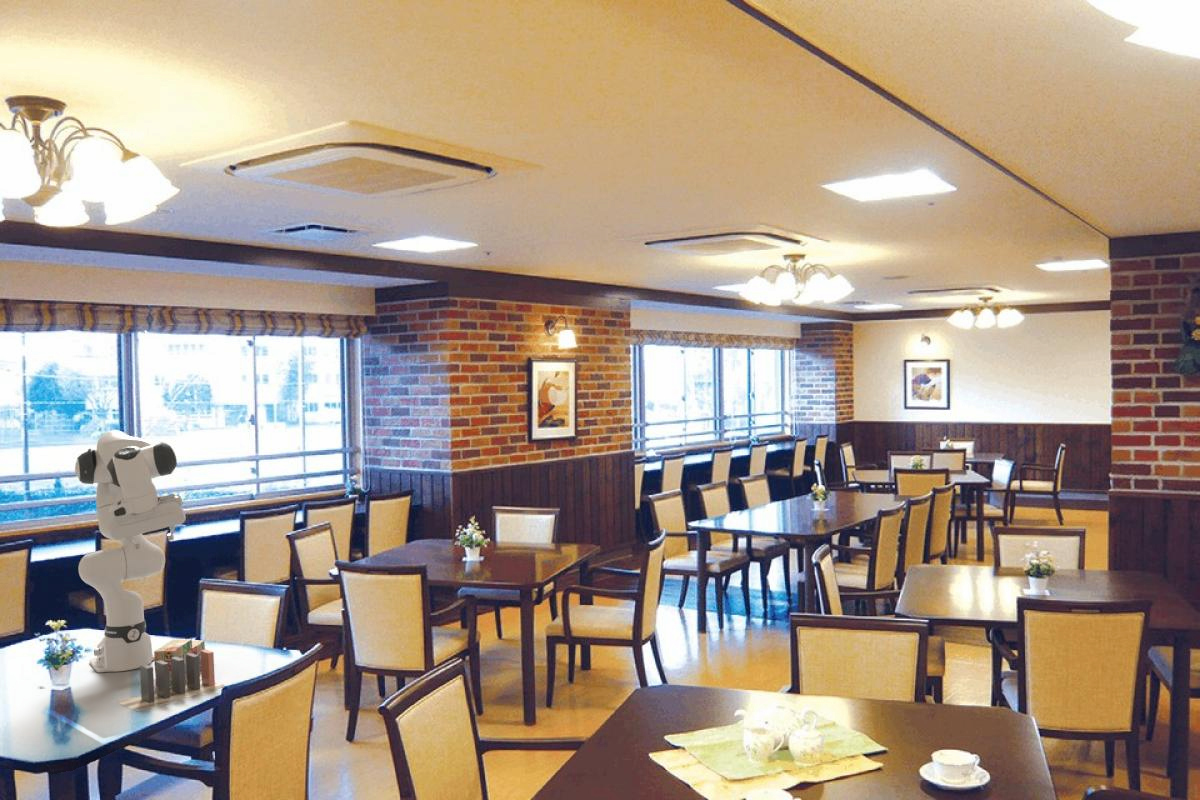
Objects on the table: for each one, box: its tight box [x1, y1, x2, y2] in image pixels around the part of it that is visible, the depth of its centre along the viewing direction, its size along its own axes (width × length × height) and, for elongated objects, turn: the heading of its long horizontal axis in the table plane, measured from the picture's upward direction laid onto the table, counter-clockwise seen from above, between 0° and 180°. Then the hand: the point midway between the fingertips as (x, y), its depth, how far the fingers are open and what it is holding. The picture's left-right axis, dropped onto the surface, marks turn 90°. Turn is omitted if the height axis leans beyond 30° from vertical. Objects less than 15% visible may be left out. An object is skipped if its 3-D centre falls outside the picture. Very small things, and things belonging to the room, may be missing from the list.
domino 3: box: [171, 657, 186, 695], centre depth 284 cm, size 2×5×10 cm, turn 49°
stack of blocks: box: [153, 638, 206, 688], centre depth 300 cm, size 21×6×12 cm, turn 179°
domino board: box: [117, 678, 224, 712], centre depth 282 cm, size 13×26×1 cm, turn 139°
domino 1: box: [139, 664, 155, 703], centre depth 277 cm, size 2×5×10 cm, turn 49°
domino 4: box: [186, 653, 201, 690], centre depth 287 cm, size 2×5×10 cm, turn 49°
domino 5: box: [200, 648, 216, 686], centre depth 291 cm, size 2×5×10 cm, turn 49°
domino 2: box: [155, 660, 171, 699], centre depth 280 cm, size 2×5×10 cm, turn 49°
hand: (154, 543), depth 285 cm, fingers open, 8 cm apart
